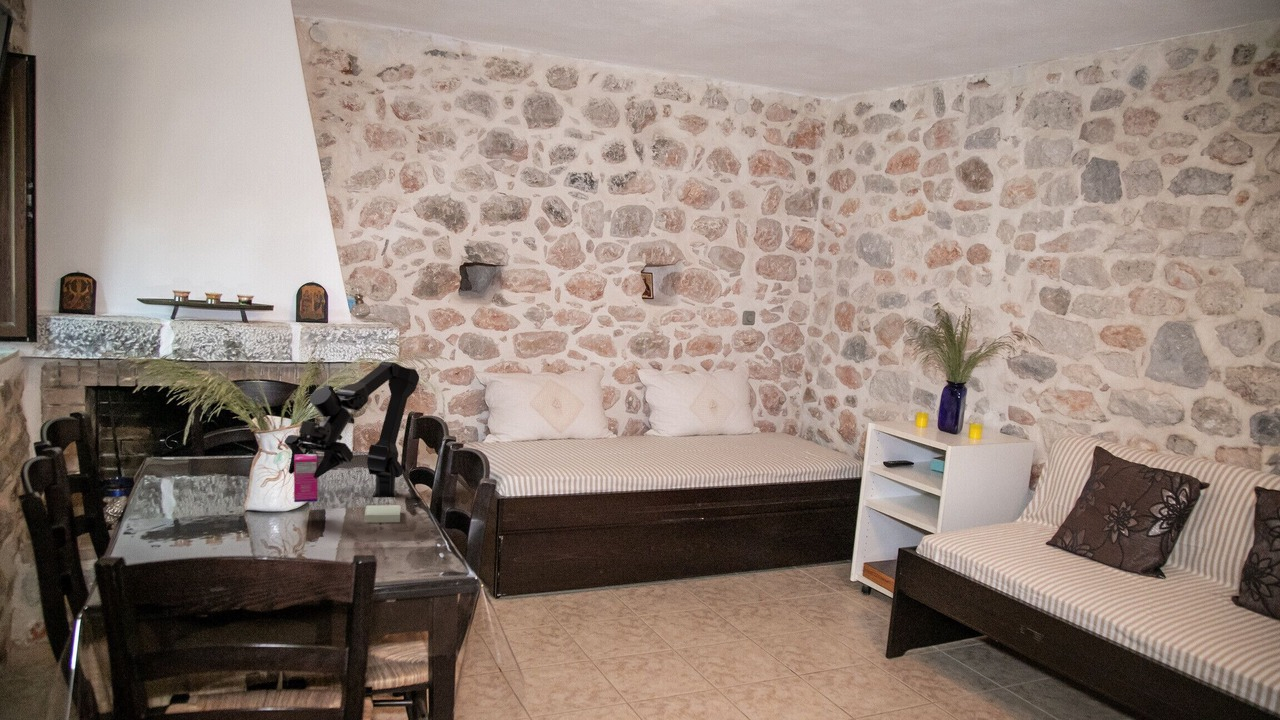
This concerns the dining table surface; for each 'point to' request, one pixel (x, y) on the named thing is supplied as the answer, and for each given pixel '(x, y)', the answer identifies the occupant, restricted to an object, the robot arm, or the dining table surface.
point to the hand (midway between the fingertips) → (302, 475)
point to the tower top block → (382, 513)
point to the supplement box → (305, 478)
